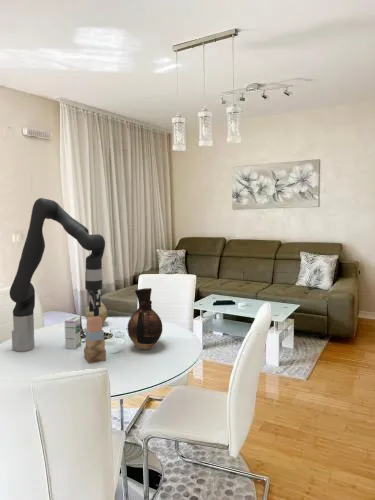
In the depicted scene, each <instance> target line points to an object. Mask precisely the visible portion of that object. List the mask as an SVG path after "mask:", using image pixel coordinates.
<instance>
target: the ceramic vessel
mask: <svg viewBox="0 0 375 500" xmlns="http://www.w3.org/2000/svg"><path fill="white" fill-rule="evenodd" d="M134 293H135V295H136V298H137V301H138V308H137V309H136V310H135V311H134V313H133V314H132V315H131V317H130V318H129V320H128V323H127V334H128V337H129V339H130V341H131V342H132V343H133V344H134V347H137V348H138V349H140V350H151V349H152V348H154V346H156V345H157V343H158V342H159V340H160V339H161V336H162V334H163V322H162V320H161V317H160V316H159V314H158V313H157V312H156V311H155V310H154V309H153V307H152V303H153V301H152V300H151V298H152V297H151V295H152V288H151V287H149V288H148V287H147V288H146V287H145V288H139V289H135V290H134Z"/></svg>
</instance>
